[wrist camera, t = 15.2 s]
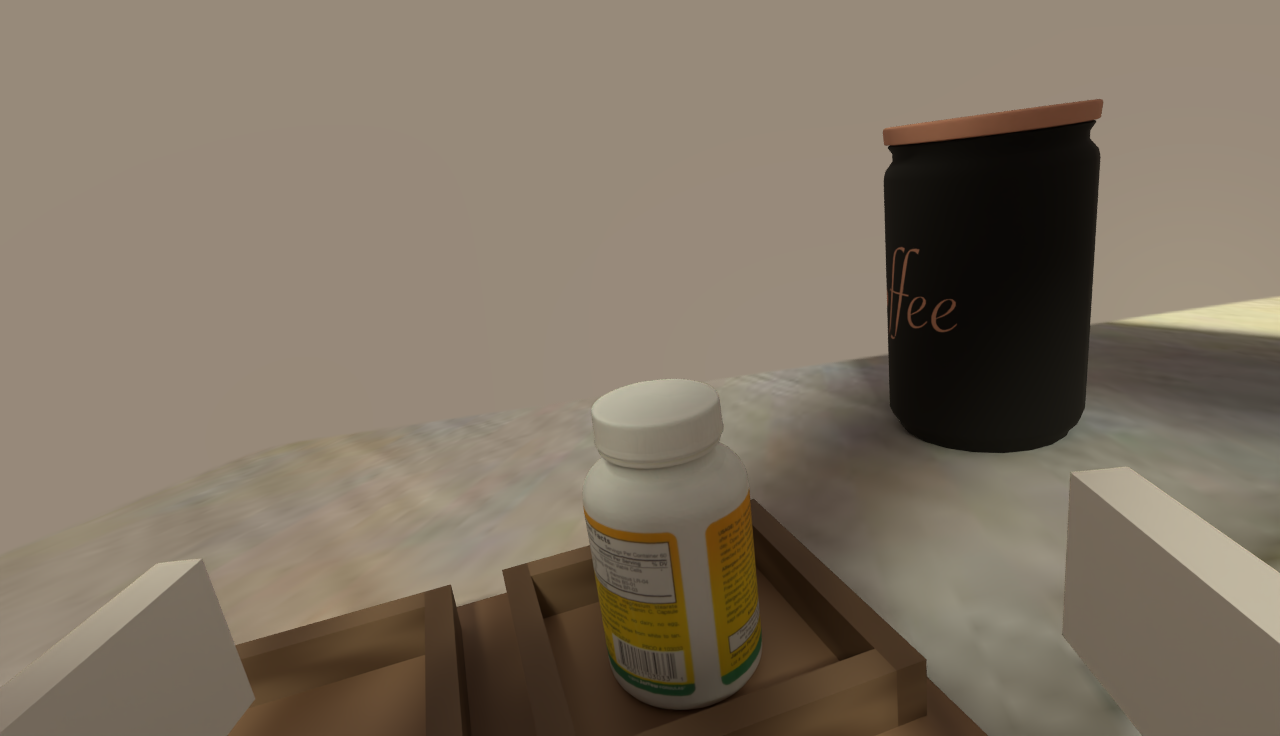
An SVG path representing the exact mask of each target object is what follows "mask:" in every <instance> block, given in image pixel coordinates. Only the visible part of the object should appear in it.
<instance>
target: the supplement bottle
mask: <svg viewBox="0 0 1280 736" xmlns="http://www.w3.org/2000/svg"><path fill="white" fill-rule="evenodd" d="M591 415H592V423H593V430H594V442H595V445H596V447H597V449H598V452H599V454H600V455H601V458H600V459H599V460H598V461H597V462H596V463H595V464H594V465H593V466H592V468H591V469H590V471H589V472H588V474H587V476H586V479H585V482H584V485H583V507H584V514H585V520H586V525H587V531H588V537H589V542H590V549H591V555H592V560H593V567H594V573H595V579H596V585H597V590H598V596H599V602H600V608H601V614H602V620H603V626H604V632H605V638H606V646H607V650H608V655H609V661H610V666H611V669H612V671H613V674H614V676H615V678H616V679H617V681H618V682H619V684H620V685H621V686H622V687H623V689H624V690H626V691H627V692H628V693H629V694H631V695H632V696H633V697H635V698H636V699H638V700H640V701H642V702H644V703H646V704H649V705H651V706H655V707H658V708H663V709H671V710H690V709H697V708H703V707H706V706H710V705H713V704H715V703H718V702H720V701H722V700H724V699H726V698H728V697H730V696H731V695H733V694H734V693H736V692H737V691H738V690H739V689H740V688H742V687H743V686H744V685H745V683H746V682H747V681H748V680H749V679H750V677H751V676H752V675H753V673H754V672H755V670H756V668H757V666H758V664H759V661H760V658H761V654H762V629H761V621H760V609H759V599H758V589H757V577H756V565H755V553H754V540H753V529H752V516H751V503H750V491H749V482H748V475H747V471H746V468H745V466H744V464H743V462H742V461H741V459H740V458H739V457H738V456H737V454H736V453H735V452H733V451H732V450H731V449H730V448H728V447H727V446H725V445H724V444H722V443H720V442H719V440H720V437H721V434H722V432H723V427H724V426H723V421H722V415H721V407H720V399H719V395H718V392H717V391H716V390H715V389H714V388H713V387H711V386H709V385H707V384H705V383H702V382H698V381H692V380H685V379H662V380H651V381H645V382H640V383H635V384H631V385H627V386H624V387H621V388H618V389H616V390H613V391H611V392H609V393H607V394H605V395H603V396H602V397H600V398H599V399H598V400H597V401H596V402H595V403H594V405H593V406H592V410H591Z"/></svg>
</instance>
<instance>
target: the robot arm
mask: <svg viewBox="0 0 1280 736" xmlns="http://www.w3.org/2000/svg"><path fill="white" fill-rule="evenodd" d="M1062 635H1063V636H1064V638H1065V639H1066V640H1067V642H1068V643H1069V644H1070V645H1071V647H1072V648H1073V649H1074V650H1075V652H1076V653H1077V654H1078V655H1079V657H1080V658H1081V659H1082V660H1083V662H1084V663H1085V664H1086V665H1087V667H1088V668H1089V669H1090V670H1091V672H1092V673H1093V674H1094V675H1095V677H1096V678H1097V679H1098V680H1099V682H1100V683H1101V684H1102V686H1103V687H1104V688H1105V689H1106V691H1107V692H1108V693H1109V694H1110V696H1111V697H1112V698H1113V699H1114V701H1115V702H1116V703H1117V704H1118V706H1119V707H1120V708H1121V709H1122V711H1123V712H1124V713H1125V714H1126V716H1127V717H1128V718H1129V719H1130V721H1131V722H1132V723H1133V725H1134V726H1135V727H1136V728H1137V730H1138V731H1139V732H1140V733H1141V735H1142V736H1280V573H1279V572H1277V571H1276V570H1275V569H1273V568H1272V567H1270V566H1269V565H1267V564H1266V563H1265V562H1263V561H1262V560H1260V559H1259V558H1257V557H1256V556H1255V555H1253V554H1252V553H1250V552H1249V551H1247V550H1246V549H1245V548H1243V547H1242V546H1240V545H1239V544H1237V543H1236V542H1235V541H1233V540H1232V539H1230V538H1229V537H1228V536H1226V535H1225V534H1223V533H1222V532H1220V531H1219V530H1218V529H1216V528H1215V527H1213V526H1212V525H1210V524H1209V523H1208V522H1206V521H1205V520H1203V519H1202V518H1200V517H1199V516H1198V515H1196V514H1195V513H1193V512H1192V511H1190V510H1189V509H1188V508H1186V507H1185V506H1183V505H1182V504H1180V503H1179V502H1178V501H1176V500H1175V499H1173V498H1172V497H1171V496H1169V495H1168V494H1166V493H1165V492H1163V491H1162V490H1161V489H1159V488H1158V487H1156V486H1155V485H1153V484H1152V483H1151V482H1149V481H1148V480H1146V479H1145V478H1143V477H1142V476H1141V475H1139V474H1138V473H1136V472H1135V471H1133V470H1132V469H1131V468H1129V467H1128V466H1127V467H1117V468H1107V469H1097V470H1087V471H1077V472H1070V491H1069V511H1068V531H1067V551H1066V571H1065V591H1064V611H1063V631H1062ZM254 700H255V697H254V694H253V691H252V689H251V686H250V683H249V681H248V678H247V675H246V673H245V670H244V668H243V665H242V662H241V660H240V657H239V654H238V652H237V649H236V646H235V644H234V641H233V638H232V636H231V633H230V631H229V628H228V625H227V623H226V620H225V617H224V615H223V612H222V609H221V607H220V604H219V601H218V599H217V596H216V594H215V591H214V588H213V586H212V583H211V580H210V578H209V575H208V572H207V570H206V567H205V565H204V562H203V559H193V560H183V561H173V562H163V563H157V564H156V565H154V566H153V567H152V568H151V569H149V570H148V571H147V572H146V573H144V574H143V575H142V576H141V577H139V578H138V579H137V580H136V581H134V582H133V583H132V584H131V585H129V586H128V587H127V588H125V589H124V590H123V591H122V592H120V593H119V594H118V595H117V596H115V597H114V598H113V599H112V600H110V601H109V602H108V603H107V604H105V605H104V606H103V607H102V608H100V609H99V610H98V611H97V612H95V613H94V614H93V615H92V616H90V617H89V618H88V619H87V620H85V621H84V622H83V623H82V624H80V625H79V626H78V627H76V628H75V629H74V630H73V631H71V632H70V633H69V634H68V635H66V636H65V637H64V638H63V639H61V640H60V641H59V642H58V643H56V644H55V645H54V646H53V647H51V648H50V649H49V650H48V651H46V652H45V653H44V654H43V655H41V656H40V657H39V658H38V659H36V660H35V661H34V662H33V663H31V664H30V665H29V666H27V667H26V668H25V669H24V670H22V671H21V672H20V673H19V674H17V675H16V676H15V677H14V678H12V679H11V680H10V681H9V682H7V683H6V684H5V685H4V686H2V687H1V688H0V736H227V735H228V734H229V733H230V731H231V730H232V729H233V727H234V726H235V725H236V723H237V722H238V721H239V719H240V718H241V717H242V716H243V714H244V713H245V712H246V710H247V709H248V708H249V706H250V705H251V704H252V703H253V701H254Z"/></svg>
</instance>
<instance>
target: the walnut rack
mask: <svg viewBox="0 0 1280 736" xmlns="http://www.w3.org/2000/svg"><path fill="white" fill-rule="evenodd" d="M750 503H751V516H752V529H753V540H754V553H755V565H756V577H757V589H758V599H759V609H760V621H761V629H762V654H761V658H760V661H759V664H758V666H757V668H756V670H755V672H754V673H753V675H752V676H751V677H750V679H749V680H748V681H747V682H746V683H745V685H744V686H743V687H742V688H740V689H739V690H738V691H737V692H736V693H734V694H733V695H731V696H730V697H728V698H726V699H724V700H722V701H720V702H718V703H715V704H713V705H710V706H706V707H703V708H697V709H690V710H671V709H663V708H658V707H655V706H651V705H649V704H646V703H644V702H642V701H640V700H638V699H636V698H635V697H633V696H632V695H631V694H629V693H628V692H627V691H626V690H624V689H623V687H622V686H621V685H620V684H619V682H618V681H617V679H616V678H615V676H614V674H613V671H612V669H611V666H610V661H609V655H608V650H607V646H606V638H605V632H604V626H603V620H602V614H601V608H600V602H599V596H598V590H597V585H596V579H595V573H594V567H593V560H592V555H591V549H590V545H589V546H586V547H582V548H579V549H575V550H571V551H568V552H564V553H561V554H557V555H554V556H550V557H547V558H543V559H540V560H536V561H532V562H529V563H525V564H522V565H518V566H515V567H511V568H508V569H504V570H502V572H503V576H504V581H505V586H506V590H507V593H504V594H500V595H497V596H494V597H490V598H487V599H483V600H480V601H476V602H473V603H470V604H466V605H463V606H459V607H456V603H455V599H454V595H453V591H452V587H451V585H447V586H444V587H440V588H437V589H433V590H430V591H426V592H423V593H419V594H416V595H412V596H409V597H405V598H401V599H398V600H394V601H391V602H387V603H384V604H380V605H377V606H373V607H370V608H366V609H363V610H359V611H355V612H352V613H348V614H345V615H341V616H338V617H334V618H331V619H327V620H324V621H320V622H316V623H313V624H309V625H306V626H302V627H299V628H295V629H292V630H288V631H285V632H281V633H278V634H274V635H270V636H267V637H263V638H260V639H256V640H253V641H249V642H246V643H242V644H239V645H235V646H236V649H237V652H238V654H239V657H240V660H241V662H242V665H243V668H244V670H245V673H246V675H247V678H248V681H249V683H250V686H251V689H252V691H253V694H254V697H255V700H254V701H253V703H252V704H251V705H250V706H249V708H248V709H247V710H246V712H245V713H244V714H243V716H242V717H241V718H240V719H239V721H238V722H237V723H236V725H235V726H234V727H233V729H232V730H231V731H230V733H229V734H228V735H227V736H988V735H987V734H986V733H985V732H984V731H983V730H982V729H980V728H979V727H978V726H977V725H976V724H975V723H974V722H973V721H972V720H971V719H970V718H969V717H968V716H967V715H966V714H965V713H964V712H963V711H962V710H961V709H960V708H959V707H958V706H957V705H956V704H955V703H954V702H952V701H951V700H950V699H949V698H948V697H947V696H946V695H945V694H944V693H943V692H942V691H941V690H940V689H939V688H938V687H937V686H936V685H935V684H934V683H933V682H932V681H931V680H930V679H929V678H928V677H927V674H926V659H925V658H924V657H923V656H922V655H921V654H920V653H919V652H918V651H917V650H916V649H915V648H913V647H912V646H911V645H910V644H909V643H908V642H907V641H906V640H905V639H904V638H903V637H902V636H901V635H899V634H898V633H897V632H896V631H895V630H894V629H893V628H892V627H891V626H890V625H889V624H888V623H887V622H886V621H884V620H883V619H882V618H881V617H880V616H879V615H878V614H877V613H876V612H875V611H874V610H873V609H872V608H870V607H869V606H868V605H867V604H866V603H865V602H864V601H863V600H862V599H861V598H860V597H859V596H858V595H857V594H855V593H854V592H853V591H852V590H851V589H850V588H849V587H848V586H847V585H846V584H845V583H844V582H843V581H841V580H840V579H839V578H838V577H837V576H836V575H835V574H834V573H833V572H832V571H831V570H830V569H829V568H828V567H826V566H825V565H824V564H823V563H822V562H821V561H820V560H819V559H818V558H817V557H816V556H815V555H814V554H812V553H811V552H810V551H809V550H808V549H807V548H806V547H805V546H804V545H803V544H802V543H801V542H800V541H798V540H797V539H796V538H795V537H794V536H793V535H792V534H791V533H790V532H789V531H788V530H787V529H786V528H785V527H783V526H782V525H781V524H780V523H779V522H778V521H777V520H776V519H775V518H774V517H773V516H772V515H771V514H769V513H768V512H767V511H766V510H765V509H764V508H763V507H762V506H761V505H760V504H759V503H758V502H757V501H756V500H754V499H752V500H750Z"/></svg>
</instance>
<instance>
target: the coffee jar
mask: <svg viewBox="0 0 1280 736" xmlns="http://www.w3.org/2000/svg"><path fill="white" fill-rule="evenodd" d="M1102 107H1103V100H1101V99H1096V100H1087V101H1079V102H1073V103H1064V104H1056V105H1049V106H1042V107H1034V108H1026V109H1019V110H1012V111H1004V112H997V113H990V114H983V115H975V116H968V117H960V118H954V119H946V120H939V121H932V122H925V123H918V124H910V125H903V126H897V127H890V128H885V129H884V130H883V138H884V145H886V146H887V145H890V146H889V147H888V149H889V150H890V151H891V153H892V158H893V162H892V163H891V164H890V166H889V168H888V169H887V170H886V172H885V176H884V200H885V201H884V203H885V204H884V206H885V242H886V278H887V313H888V351H889V387H890V407H891V409H892V411H893V413H894V414H895V415H896V416H897V418H898V419H899V420H900V422H901V424H902V425H903V426H904V427H905V428H906V430H907V431H908V432H909V433H911V434H912V435H914V436H916V437H918V438H920V439H922V440H923V441H926V442H929V443H933V444H936V445H939V446H943V447H946V448H952V449H959V450H965V451H972V452H998V453H1005V452H1015V451H1025V450H1032V449H1036V448H1040V447H1043V446H1047V445H1051V444H1053V443H1055V442H1057V441H1058V440H1060V439H1062V438H1063V437H1065V436H1066V435H1067V433H1068V431H1069V430H1070V429H1071V428H1073V427H1074V426H1075V425H1076V424H1077V423H1078V421H1079V419H1080V418H1081V415H1082V413H1083V411H1084V408H1085V398H1086V382H1087V366H1088V350H1089V333H1090V317H1091V301H1092V284H1093V267H1094V252H1095V235H1096V219H1097V203H1098V185H1099V170H1100V152H1099V148H1098V147H1097V146H1096V145H1095V144H1094V143H1093V141H1091V139H1090V130H1091V128H1092V127H1093V126H1094V124H1095V123H1096V121H1095V119H1098V118H1100V117H1101V114H1102Z"/></svg>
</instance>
